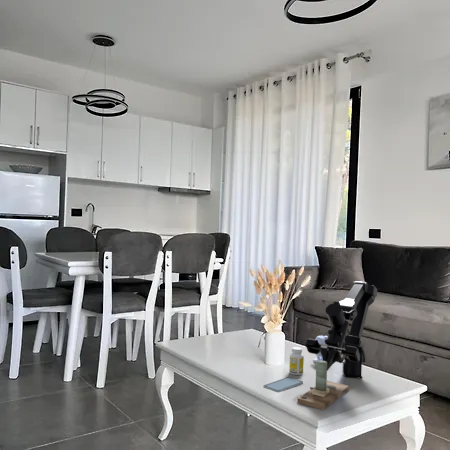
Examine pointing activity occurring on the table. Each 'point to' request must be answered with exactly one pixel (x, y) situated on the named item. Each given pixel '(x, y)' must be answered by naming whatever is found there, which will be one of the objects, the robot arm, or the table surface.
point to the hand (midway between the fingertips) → (324, 370)
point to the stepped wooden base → (324, 402)
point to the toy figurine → (321, 341)
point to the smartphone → (283, 384)
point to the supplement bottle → (296, 361)
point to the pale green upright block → (321, 379)
